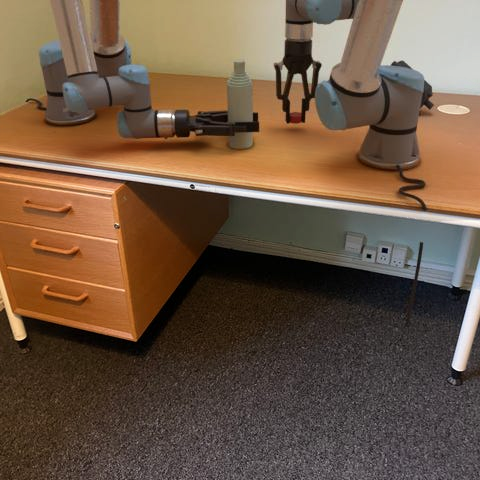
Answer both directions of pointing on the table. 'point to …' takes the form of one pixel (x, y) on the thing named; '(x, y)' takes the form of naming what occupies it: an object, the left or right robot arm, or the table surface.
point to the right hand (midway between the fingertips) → (295, 121)
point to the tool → (427, 88)
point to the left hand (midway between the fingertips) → (258, 122)
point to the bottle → (240, 104)
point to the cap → (295, 117)
